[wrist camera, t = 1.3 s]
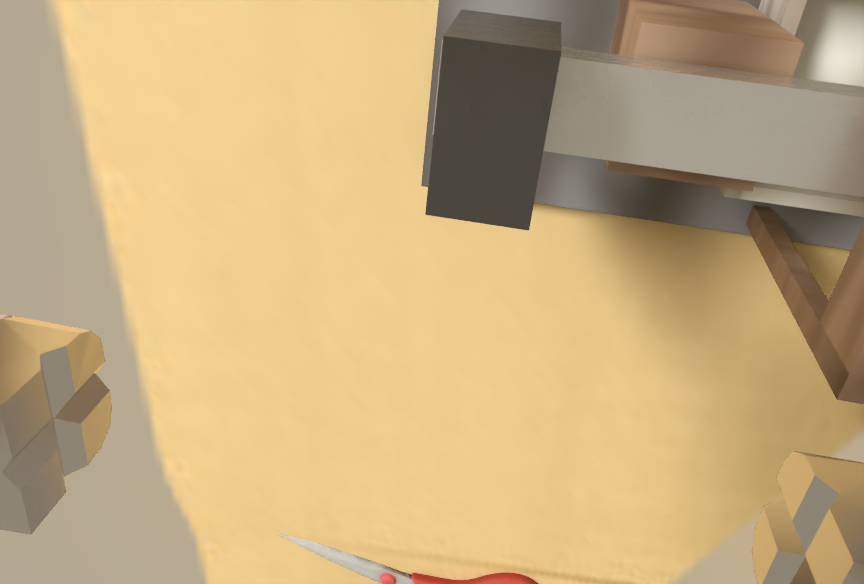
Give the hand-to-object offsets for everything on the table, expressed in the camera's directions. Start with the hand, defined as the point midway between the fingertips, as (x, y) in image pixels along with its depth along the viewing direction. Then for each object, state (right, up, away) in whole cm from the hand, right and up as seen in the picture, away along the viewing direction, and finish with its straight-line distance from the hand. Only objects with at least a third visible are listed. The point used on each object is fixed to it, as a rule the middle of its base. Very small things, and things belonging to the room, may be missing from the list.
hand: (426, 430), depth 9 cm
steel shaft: (+11, +7, +15) cm, 20 cm away
